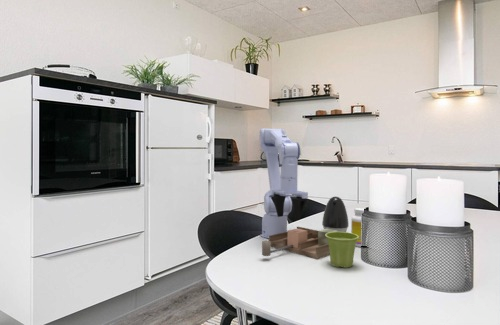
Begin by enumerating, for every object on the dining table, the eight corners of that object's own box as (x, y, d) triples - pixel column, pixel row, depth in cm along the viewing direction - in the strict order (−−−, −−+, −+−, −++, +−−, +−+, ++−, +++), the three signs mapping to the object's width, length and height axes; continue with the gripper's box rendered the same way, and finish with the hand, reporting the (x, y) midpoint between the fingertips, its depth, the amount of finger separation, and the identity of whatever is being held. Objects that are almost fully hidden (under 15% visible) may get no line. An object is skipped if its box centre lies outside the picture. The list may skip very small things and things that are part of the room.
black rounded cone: (319, 236, 136) (320, 197, 136) (324, 230, 146) (325, 194, 145) (346, 238, 132) (347, 199, 132) (349, 232, 142) (350, 195, 142)
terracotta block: (258, 254, 107) (258, 237, 107) (296, 243, 120) (297, 228, 119) (268, 257, 103) (268, 240, 103) (307, 245, 116) (307, 230, 116)
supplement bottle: (371, 248, 120) (372, 211, 119) (351, 247, 121) (352, 210, 121) (369, 243, 126) (369, 207, 126) (350, 242, 127) (350, 207, 127)
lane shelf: (268, 245, 122) (269, 227, 121) (297, 238, 133) (297, 221, 132) (317, 259, 107) (317, 238, 107) (345, 249, 118) (345, 230, 118)
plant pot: (340, 272, 96) (340, 240, 95) (318, 262, 104) (318, 233, 104) (365, 267, 100) (365, 237, 100) (342, 258, 108) (342, 230, 108)
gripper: (265, 177, 121) (265, 216, 121) (298, 179, 110) (298, 222, 110) (278, 176, 126) (278, 214, 126) (311, 178, 115) (311, 219, 115)
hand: (288, 217), depth 118 cm, fingers open, 7 cm apart
